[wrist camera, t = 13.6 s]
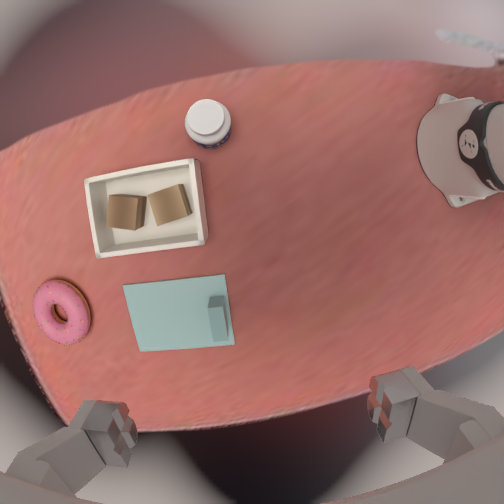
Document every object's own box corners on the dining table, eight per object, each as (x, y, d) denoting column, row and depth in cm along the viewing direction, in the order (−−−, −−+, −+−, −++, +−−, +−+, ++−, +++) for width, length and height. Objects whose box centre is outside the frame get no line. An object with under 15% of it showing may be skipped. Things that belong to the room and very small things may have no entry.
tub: (199, 161, 39) (193, 158, 33) (208, 235, 41) (204, 244, 36) (103, 178, 39) (84, 179, 33) (113, 248, 41) (96, 258, 35)
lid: (224, 272, 43) (223, 284, 38) (234, 341, 46) (235, 358, 41) (124, 283, 43) (113, 295, 38) (141, 348, 45) (133, 364, 41)
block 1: (147, 196, 39) (138, 198, 35) (144, 225, 40) (134, 230, 36) (120, 193, 39) (108, 195, 35) (117, 222, 40) (106, 226, 36)
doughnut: (42, 327, 44) (30, 338, 40) (40, 268, 41) (26, 276, 37) (94, 345, 45) (84, 358, 41) (95, 284, 42) (84, 294, 38)
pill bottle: (209, 157, 39) (202, 151, 31) (183, 130, 38) (169, 117, 30) (239, 130, 39) (241, 117, 30) (213, 103, 38) (207, 84, 29)
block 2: (183, 183, 39) (177, 184, 35) (192, 212, 40) (187, 216, 36) (155, 193, 39) (147, 194, 35) (164, 222, 40) (157, 226, 36)
